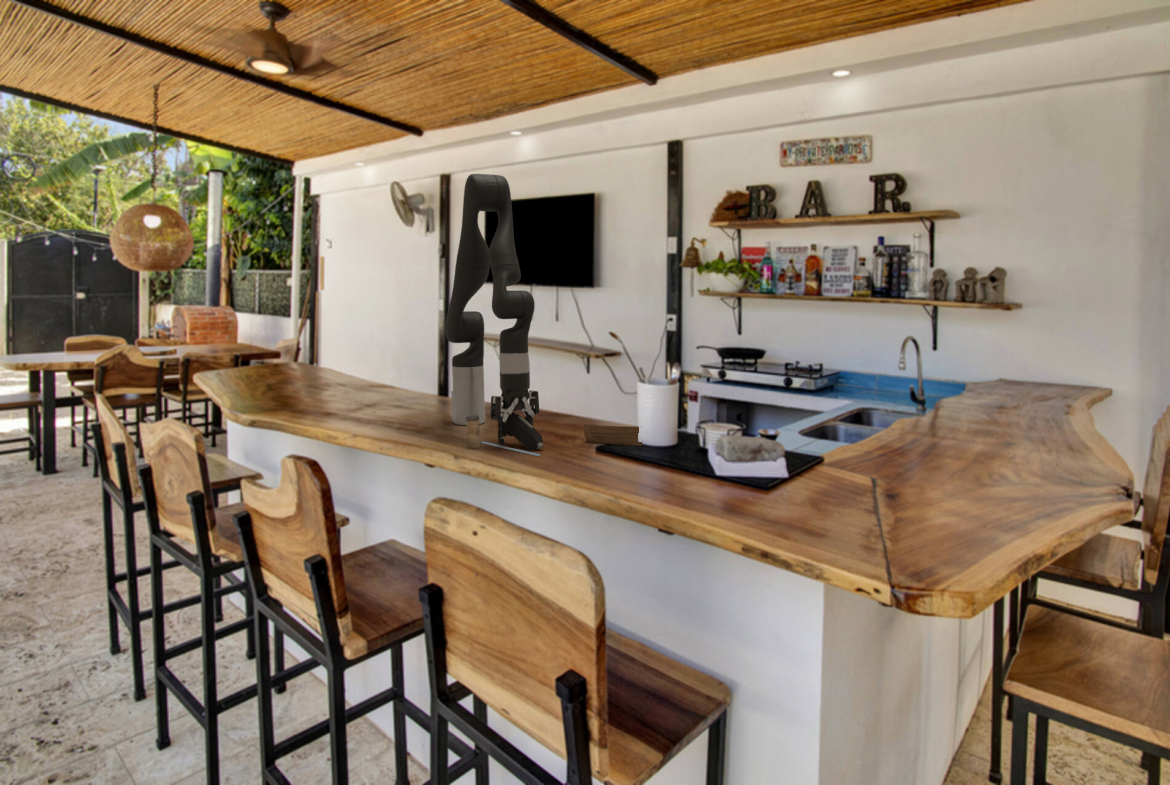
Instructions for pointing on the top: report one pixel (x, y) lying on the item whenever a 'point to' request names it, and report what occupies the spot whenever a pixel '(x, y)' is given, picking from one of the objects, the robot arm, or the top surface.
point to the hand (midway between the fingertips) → (516, 433)
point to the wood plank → (612, 434)
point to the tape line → (511, 449)
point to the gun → (522, 432)
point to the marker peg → (473, 432)
